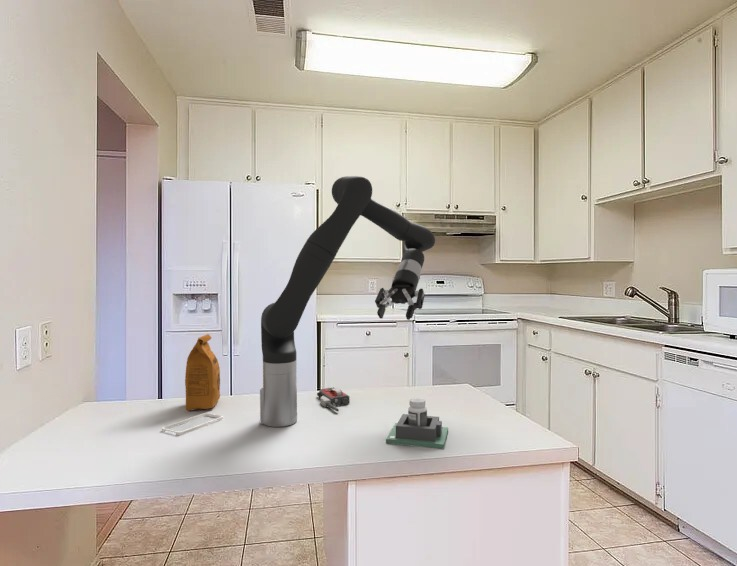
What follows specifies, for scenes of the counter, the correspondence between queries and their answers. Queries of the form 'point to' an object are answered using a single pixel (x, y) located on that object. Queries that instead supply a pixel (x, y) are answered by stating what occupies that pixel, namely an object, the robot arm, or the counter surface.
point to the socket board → (418, 433)
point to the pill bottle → (417, 412)
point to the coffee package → (202, 376)
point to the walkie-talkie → (333, 397)
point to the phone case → (191, 420)
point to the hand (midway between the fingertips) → (393, 317)
